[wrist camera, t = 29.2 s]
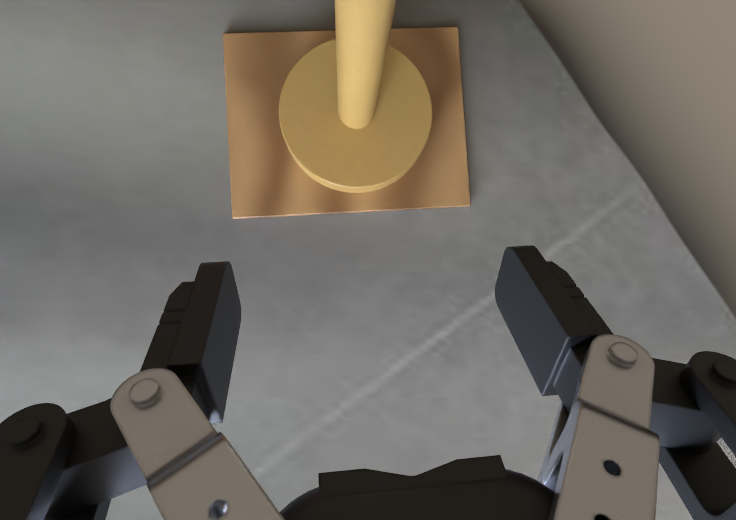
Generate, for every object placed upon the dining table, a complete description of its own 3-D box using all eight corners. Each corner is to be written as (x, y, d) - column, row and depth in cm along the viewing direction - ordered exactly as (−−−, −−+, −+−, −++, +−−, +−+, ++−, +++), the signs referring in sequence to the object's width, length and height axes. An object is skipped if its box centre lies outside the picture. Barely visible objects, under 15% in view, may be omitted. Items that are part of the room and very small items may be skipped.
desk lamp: (286, 196, 32) (126, -29, 8) (278, 52, 32) (103, -555, 9) (431, 189, 32) (665, -39, 9) (422, 48, 33) (621, -527, 9)
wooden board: (234, 219, 32) (232, 218, 31) (224, 36, 32) (222, 33, 32) (468, 206, 33) (470, 205, 32) (456, 30, 33) (457, 26, 33)
